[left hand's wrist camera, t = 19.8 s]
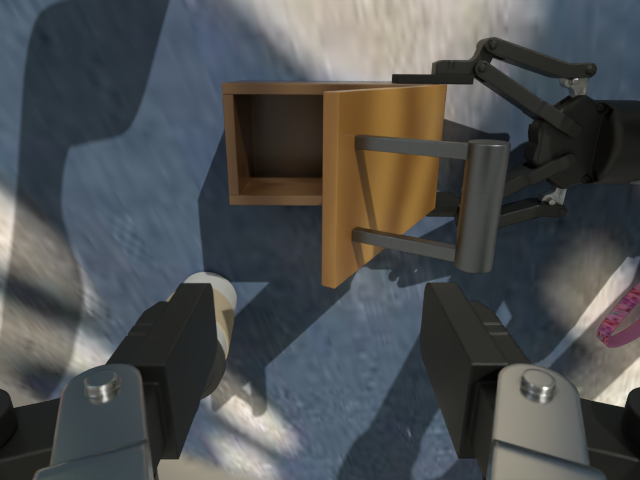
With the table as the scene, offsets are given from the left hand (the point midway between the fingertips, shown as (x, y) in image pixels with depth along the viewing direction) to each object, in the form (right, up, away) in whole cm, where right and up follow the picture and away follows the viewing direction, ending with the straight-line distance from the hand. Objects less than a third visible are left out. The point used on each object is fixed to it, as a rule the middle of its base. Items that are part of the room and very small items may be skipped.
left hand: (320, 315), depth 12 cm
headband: (+38, -6, +43) cm, 58 cm away
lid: (+5, +7, +19) cm, 20 cm away
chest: (+1, +13, +36) cm, 38 cm away
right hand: (+6, +11, +30) cm, 32 cm away
